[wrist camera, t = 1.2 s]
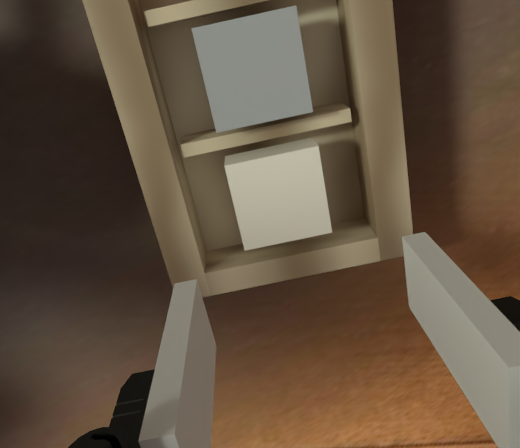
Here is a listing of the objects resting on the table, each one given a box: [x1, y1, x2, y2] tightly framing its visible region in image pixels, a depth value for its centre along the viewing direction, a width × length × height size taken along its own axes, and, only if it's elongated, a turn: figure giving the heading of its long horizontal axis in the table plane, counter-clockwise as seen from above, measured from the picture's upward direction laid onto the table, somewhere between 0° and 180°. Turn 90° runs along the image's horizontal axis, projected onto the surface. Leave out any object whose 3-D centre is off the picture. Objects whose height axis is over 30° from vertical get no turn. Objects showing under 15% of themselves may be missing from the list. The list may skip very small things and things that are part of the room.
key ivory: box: [224, 138, 332, 251], centre depth 26 cm, size 5×5×2 cm
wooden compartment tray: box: [82, 0, 413, 298], centre depth 24 cm, size 14×30×4 cm, turn 12°
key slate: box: [191, 5, 313, 133], centre depth 23 cm, size 5×5×2 cm
